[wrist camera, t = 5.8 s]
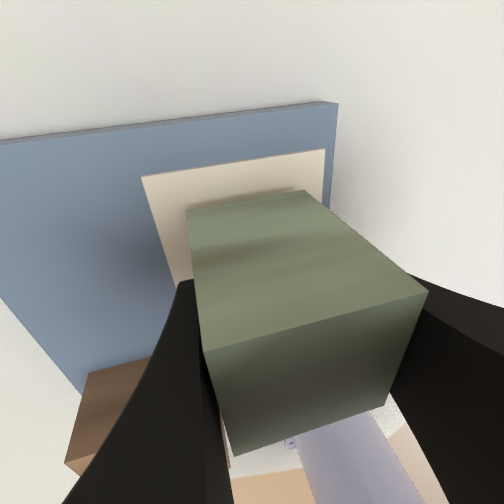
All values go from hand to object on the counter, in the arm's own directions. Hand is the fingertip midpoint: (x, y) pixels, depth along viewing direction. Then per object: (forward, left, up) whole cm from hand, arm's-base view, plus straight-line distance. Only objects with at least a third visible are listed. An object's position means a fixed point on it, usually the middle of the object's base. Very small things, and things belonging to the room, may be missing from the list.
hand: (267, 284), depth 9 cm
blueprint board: (-4, +3, -4) cm, 7 cm away
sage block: (0, 0, -2) cm, 2 cm away
